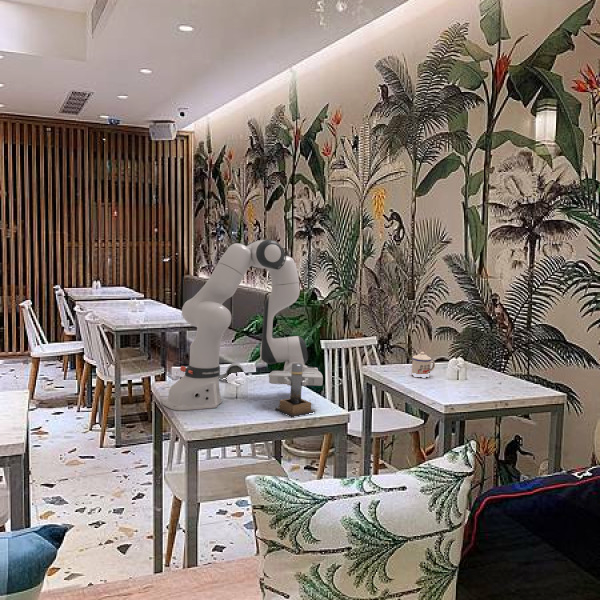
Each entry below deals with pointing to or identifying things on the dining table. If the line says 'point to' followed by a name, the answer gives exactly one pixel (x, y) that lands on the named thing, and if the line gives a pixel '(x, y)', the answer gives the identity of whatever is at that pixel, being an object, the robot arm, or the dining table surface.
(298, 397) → the air tube
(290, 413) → the stove collar
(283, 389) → the dining table surface
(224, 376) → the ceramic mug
